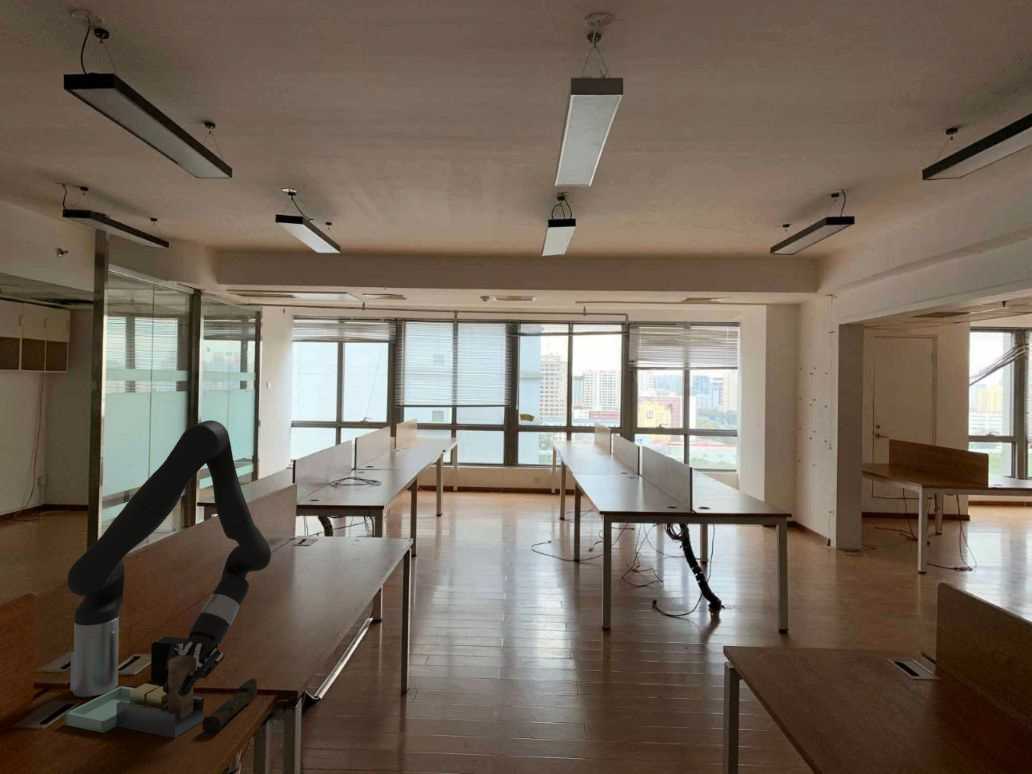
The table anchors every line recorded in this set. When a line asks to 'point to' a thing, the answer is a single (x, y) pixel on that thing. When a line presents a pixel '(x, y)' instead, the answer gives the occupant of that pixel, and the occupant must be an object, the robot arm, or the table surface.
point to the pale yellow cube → (157, 698)
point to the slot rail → (158, 718)
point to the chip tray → (98, 711)
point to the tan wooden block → (179, 685)
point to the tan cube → (141, 694)
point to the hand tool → (230, 707)
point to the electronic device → (162, 657)
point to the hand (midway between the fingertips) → (173, 693)
